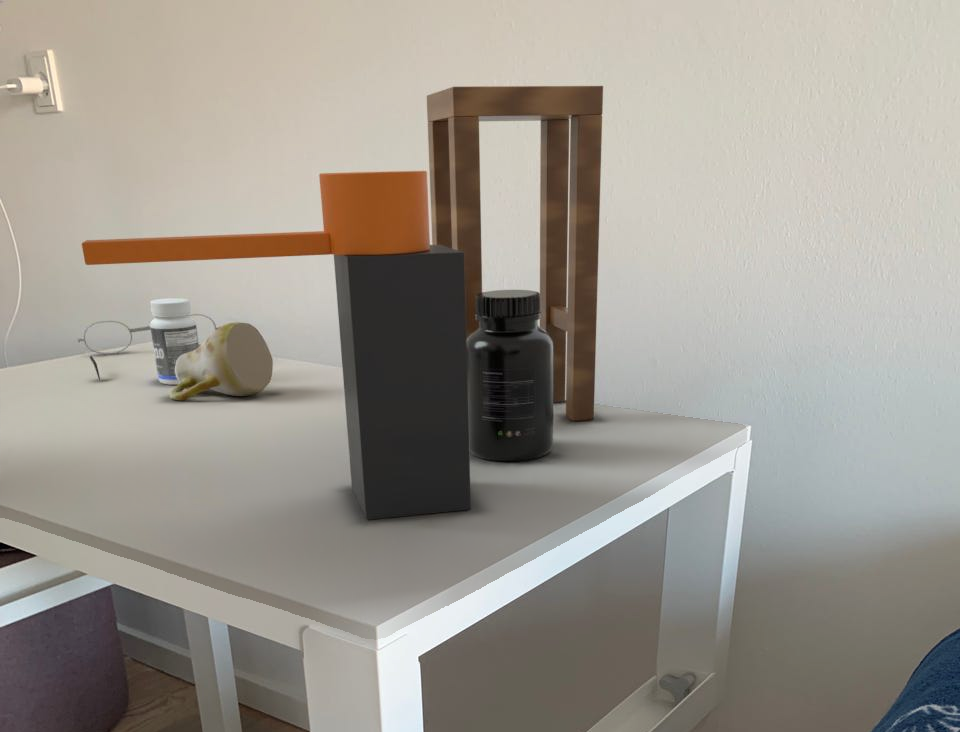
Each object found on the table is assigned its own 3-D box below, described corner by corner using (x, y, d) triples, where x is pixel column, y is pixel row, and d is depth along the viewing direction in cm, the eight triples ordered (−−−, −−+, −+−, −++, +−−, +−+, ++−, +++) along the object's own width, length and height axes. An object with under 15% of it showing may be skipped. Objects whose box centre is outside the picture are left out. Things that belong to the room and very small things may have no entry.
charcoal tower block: (366, 520, 65) (347, 256, 58) (351, 489, 71) (333, 248, 64) (471, 509, 66) (464, 252, 60) (448, 481, 73) (439, 244, 66)
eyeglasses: (223, 343, 132) (219, 311, 130) (259, 369, 117) (255, 334, 115) (79, 355, 125) (73, 322, 124) (97, 386, 110) (91, 348, 108)
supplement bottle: (469, 441, 83) (465, 288, 78) (551, 439, 83) (553, 286, 77) (465, 463, 77) (460, 299, 72) (554, 462, 76) (556, 297, 71)
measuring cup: (81, 268, 55) (65, 180, 53) (92, 259, 61) (78, 179, 59) (439, 252, 59) (436, 170, 57) (419, 245, 65) (416, 170, 63)
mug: (197, 385, 108) (234, 301, 104) (258, 435, 105) (298, 350, 101) (145, 380, 101) (181, 289, 97) (208, 433, 98) (248, 342, 94)
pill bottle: (156, 379, 110) (143, 299, 107) (199, 375, 112) (188, 296, 108) (161, 386, 106) (149, 304, 103) (206, 382, 108) (195, 301, 104)
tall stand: (462, 430, 86) (452, 86, 75) (438, 406, 95) (426, 95, 84) (594, 419, 89) (603, 85, 78) (558, 397, 98) (562, 94, 86)
